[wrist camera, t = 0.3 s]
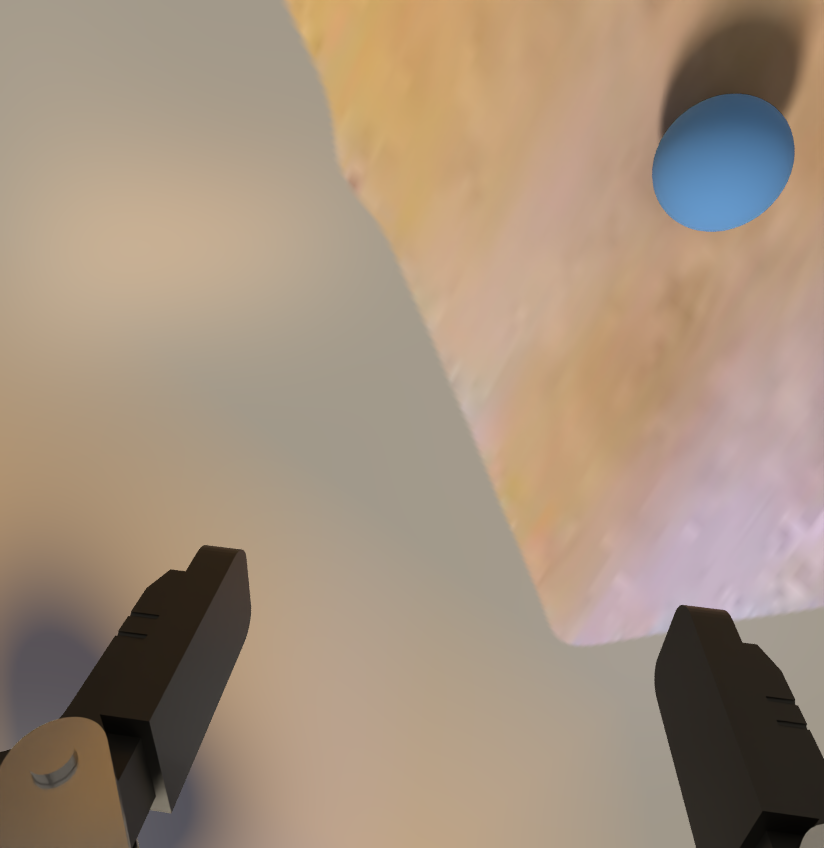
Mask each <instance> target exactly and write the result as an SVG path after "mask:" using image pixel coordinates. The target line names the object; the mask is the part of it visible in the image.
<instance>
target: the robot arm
mask: <svg viewBox="0 0 824 848" xmlns="http://www.w3.org/2000/svg"><path fill="white" fill-rule="evenodd" d="M250 617H251V602H250V591H249V581H248V570H247V559H246V554H245V552H244V550H241V549H232V548H224V547H216V546H208V545H204V546H202V547H201V548H200V549H199V551H198V552H197V554H196V555H195V557H194V559H193V560H192V562H191V564H190V565H189V567H188V568H187V570H186V571H178V570H169V571H168V572H167V573H165V574H164V575H163V576H162V577H160V578H159V579H158V580H156V581H155V582H154V583H153V584H151V585H150V586H149V587H147V588H146V590H145V591H144V593H143V594H142V596H141V597H140V599H139V600H138V602H137V603H136V605H135V606H134V608H133V609H132V611H131V615H130V616H128V617H127V619H126V620H125V622H124V623H123V625H122V626H121V628H120V629H119V633H118V636H115V637H114V638H113V640H112V641H111V643H110V645H109V646H108V647H107V649H106V651H105V652H104V654H103V655H102V657H101V658H100V660H99V661H98V663H97V664H96V666H95V667H94V669H93V670H92V672H91V673H90V675H89V676H88V678H87V679H86V681H85V682H84V684H83V686H82V687H81V688H80V690H79V692H78V693H77V695H76V696H75V698H74V699H73V701H72V702H71V704H70V705H69V707H68V708H67V709H66V711H65V712H64V714H63V715H62V716H61V717H60V718H59V719H57V720H54V721H51V722H48V723H46V724H44V725H42V726H39V727H38V728H36V729H34V730H33V731H31V732H30V733H28V734H27V735H26V736H24V737H23V738H22V739H21V740H20V741H19V742H18V743H17V744H16V745H15V746H14V747H13V748H12V749H10V750H7V751H3V752H0V848H139V844H138V839H137V837H138V834H139V832H140V830H141V828H142V825H143V823H144V821H145V819H146V817H147V814H148V813H149V810H153V811H161V812H167V813H172V811H173V808H174V806H175V803H176V801H177V799H178V797H179V794H180V792H181V789H182V787H183V785H184V783H185V779H186V778H187V775H188V773H189V771H190V768H191V766H192V764H193V761H194V759H195V757H196V754H197V752H198V750H199V747H200V745H201V743H202V740H203V738H204V736H205V733H206V731H207V729H208V726H209V724H210V722H211V719H212V717H213V714H214V712H215V710H216V707H217V705H218V703H219V700H220V698H221V696H222V693H223V691H224V688H225V686H226V684H227V682H228V679H229V677H230V675H231V672H232V670H233V668H234V665H235V663H236V660H237V658H238V656H239V653H240V651H241V649H242V646H243V644H244V642H245V639H246V636H247V633H248V628H249V624H250ZM655 692H656V697H657V701H658V705H659V709H660V713H661V716H662V720H663V724H664V728H665V732H666V735H667V739H668V743H669V747H670V750H671V754H672V758H673V762H674V765H675V769H676V773H677V777H678V781H679V784H680V788H681V792H682V796H683V800H684V803H685V807H686V811H687V815H688V818H689V822H690V826H691V830H692V833H693V837H694V841H695V845H696V848H824V758H823V756H822V754H821V752H820V750H819V748H818V746H817V744H816V742H815V740H814V738H813V736H812V734H811V732H810V730H807V728H806V725H807V723H806V721H805V719H804V717H803V715H802V713H801V711H800V709H799V707H798V706H797V705H795V698H794V696H793V694H792V692H791V690H790V688H789V686H788V684H787V682H786V680H785V678H784V676H783V673H782V672H781V670H780V669H779V668H778V667H777V666H776V665H775V664H774V662H773V661H772V660H771V659H770V658H769V657H768V656H767V655H766V654H765V653H764V652H763V650H762V649H761V648H760V647H759V646H758V645H756V644H748V643H742V641H741V639H740V636H739V634H738V632H737V629H736V627H735V625H734V622H733V620H732V618H731V616H730V615H729V613H728V612H727V611H725V610H719V609H711V608H703V607H695V606H687V605H681V606H679V607H678V608H677V610H676V612H675V614H674V617H673V619H672V622H671V625H670V627H669V630H668V632H667V635H666V638H665V641H664V643H663V646H662V649H661V651H660V653H659V656H658V659H657V662H656V667H655Z"/></svg>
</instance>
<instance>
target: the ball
mask: <svg viewBox="0 0 824 848" xmlns="http://www.w3.org/2000/svg"><path fill="white" fill-rule="evenodd" d="M793 162H794V141H793V136H792V132H791V129H790V127H789V125H788V123H787V121H786V119H785V118H784V117H783V115H782V114H781V113H780V112H779V111H778V110H777V109H776V108H775V107H774V106H773V105H771V104H770V103H768V102H767V101H765V100H763V99H760V98H758V97H755V96H751V95H747V94H725V95H718V96H715V97H711V98H709V99H706V100H704V101H702V102H700V103H698V104H696V105H694V106H693V107H691V108H689V109H688V110H687V111H685V112H684V113H683V114H682V115H680V116H679V117H678V118H677V119H676V120H675V121H674V122H673V124H672V125H671V126H670V127H669V128H668V130H667V131H666V133H665V134H664V136H663V138H662V139H661V141H660V143H659V145H658V148H657V150H656V154H655V157H654V162H653V169H652V178H653V187H654V191H655V194H656V197H657V199H658V201H659V203H660V205H661V206H662V208H663V209H664V210H665V212H666V213H667V214H668V215H669V216H670V217H671V218H672V219H674V220H675V221H677V222H678V223H680V224H682V225H684V226H686V227H688V228H691V229H695V230H699V231H707V232H716V231H724V230H728V229H732V228H735V227H738V226H741V225H743V224H745V223H748V222H750V221H751V220H753V219H755V218H756V217H758V216H759V215H760V214H762V213H763V212H764V211H765V210H767V209H768V208H769V207H770V206H771V205H772V204H773V202H774V201H775V200H776V199H777V198H778V196H779V195H780V193H781V192H782V191H783V189H784V187H785V185H786V183H787V181H788V179H789V176H790V174H791V171H792V167H793Z"/></svg>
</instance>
